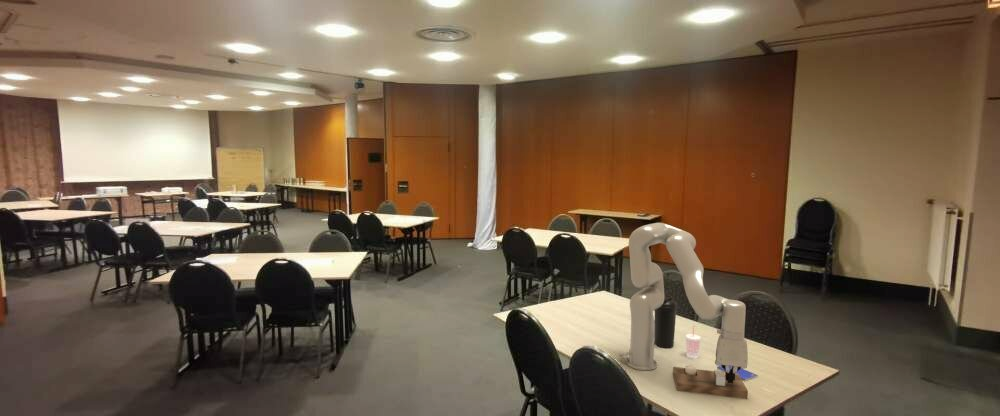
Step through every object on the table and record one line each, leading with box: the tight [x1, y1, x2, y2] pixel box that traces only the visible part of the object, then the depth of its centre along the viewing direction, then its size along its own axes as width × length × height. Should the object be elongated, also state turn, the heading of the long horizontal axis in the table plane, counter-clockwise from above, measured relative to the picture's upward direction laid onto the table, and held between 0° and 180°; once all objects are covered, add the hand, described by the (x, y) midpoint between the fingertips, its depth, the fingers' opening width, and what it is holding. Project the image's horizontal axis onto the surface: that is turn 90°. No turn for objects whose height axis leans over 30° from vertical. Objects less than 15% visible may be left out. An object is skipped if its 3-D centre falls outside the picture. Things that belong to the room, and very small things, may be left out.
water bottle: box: [654, 294, 678, 349], centre depth 214 cm, size 10×10×23 cm
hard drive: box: [716, 366, 759, 383], centre depth 187 cm, size 2×8×12 cm
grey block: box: [713, 369, 725, 386], centre depth 172 cm, size 3×5×4 cm, turn 165°
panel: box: [672, 366, 749, 400], centre depth 176 cm, size 24×14×3 cm, turn 75°
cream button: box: [684, 364, 697, 375], centre depth 181 cm, size 4×4×3 cm
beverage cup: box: [685, 325, 702, 359], centre depth 202 cm, size 6×6×14 cm
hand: (729, 381), depth 171 cm, fingers closed
